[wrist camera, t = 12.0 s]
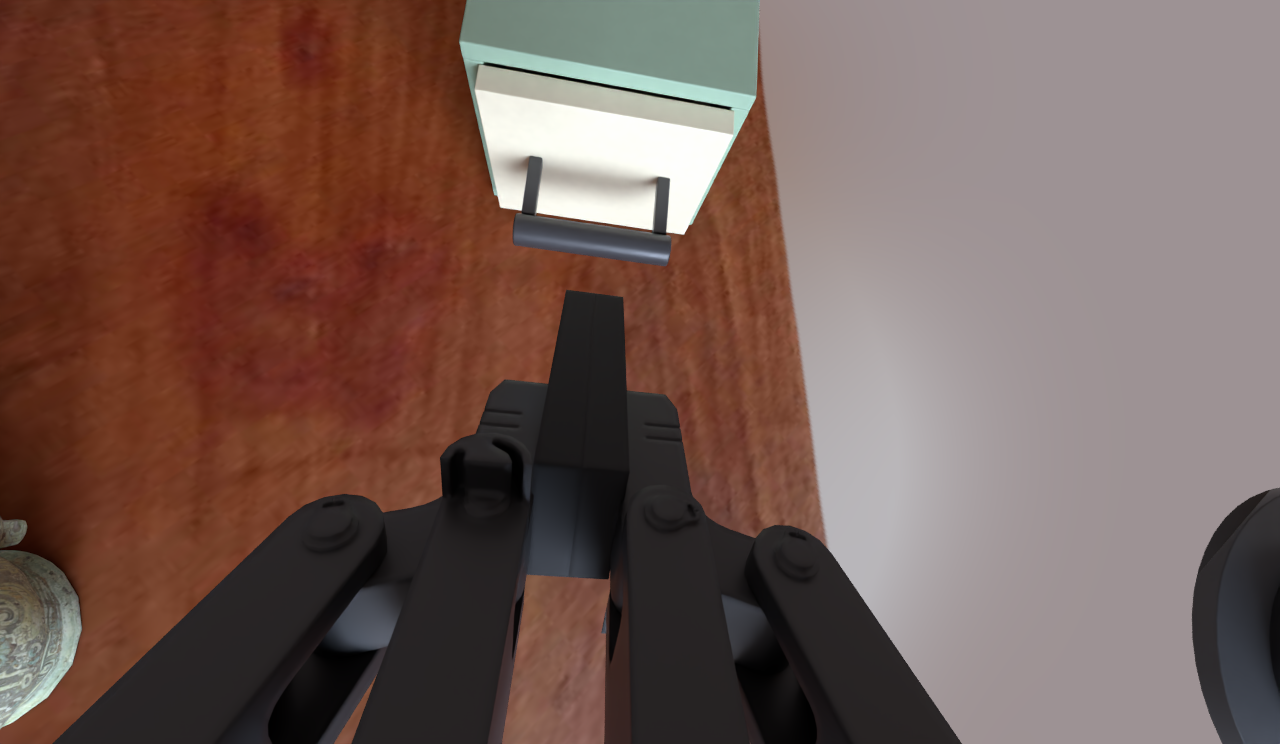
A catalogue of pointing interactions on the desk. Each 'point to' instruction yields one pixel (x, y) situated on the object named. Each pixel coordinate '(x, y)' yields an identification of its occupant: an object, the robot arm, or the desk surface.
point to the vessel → (32, 625)
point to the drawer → (597, 161)
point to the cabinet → (623, 47)
